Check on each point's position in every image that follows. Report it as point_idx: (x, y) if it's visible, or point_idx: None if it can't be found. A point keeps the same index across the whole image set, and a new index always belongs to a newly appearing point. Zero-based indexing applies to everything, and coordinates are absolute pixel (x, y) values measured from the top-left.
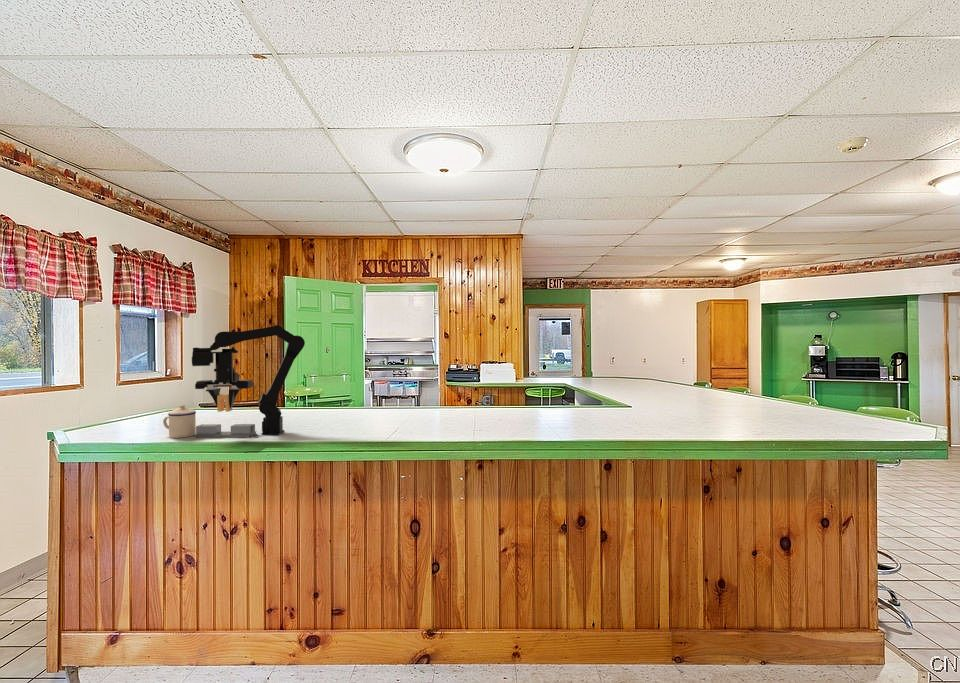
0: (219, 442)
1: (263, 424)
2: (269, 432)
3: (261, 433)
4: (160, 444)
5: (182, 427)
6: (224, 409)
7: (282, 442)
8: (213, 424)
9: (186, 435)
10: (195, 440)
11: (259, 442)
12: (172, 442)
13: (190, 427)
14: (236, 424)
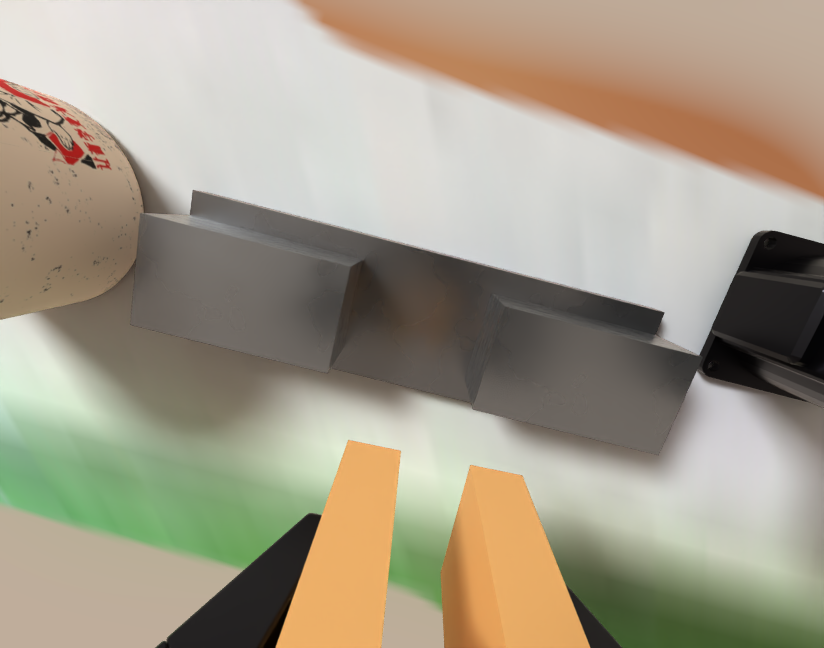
0: (420, 532)
1: (781, 366)
2: (771, 384)
3: (701, 369)
4: (52, 487)
5: (12, 316)
6: (399, 459)
7: (815, 638)
8: (273, 260)
9: (105, 291)
10: (235, 425)
11: (675, 601)
12: (101, 447)
13: (73, 275)
14: (516, 330)
